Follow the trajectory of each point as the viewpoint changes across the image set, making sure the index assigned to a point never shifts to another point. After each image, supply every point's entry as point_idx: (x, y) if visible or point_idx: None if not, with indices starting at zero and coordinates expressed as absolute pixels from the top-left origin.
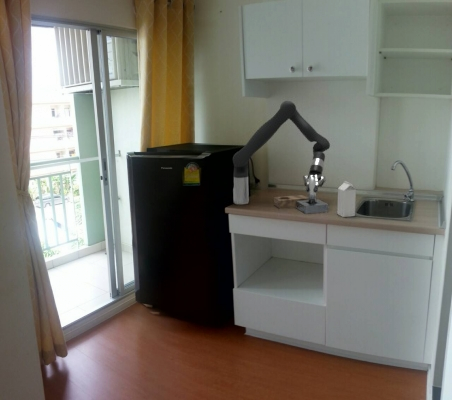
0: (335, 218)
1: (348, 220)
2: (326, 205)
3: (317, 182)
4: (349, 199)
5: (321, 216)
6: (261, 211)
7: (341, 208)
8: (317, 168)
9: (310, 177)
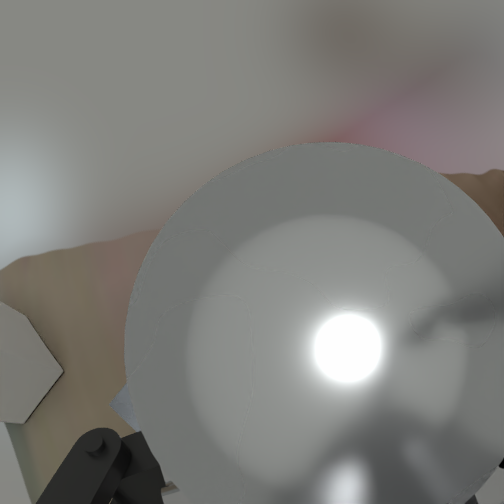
0: (53, 273)
1: (4, 275)
2: (123, 393)
3: None
4: None
5: (130, 267)
6: (466, 178)
7: (4, 315)
8: None
9: (428, 230)
